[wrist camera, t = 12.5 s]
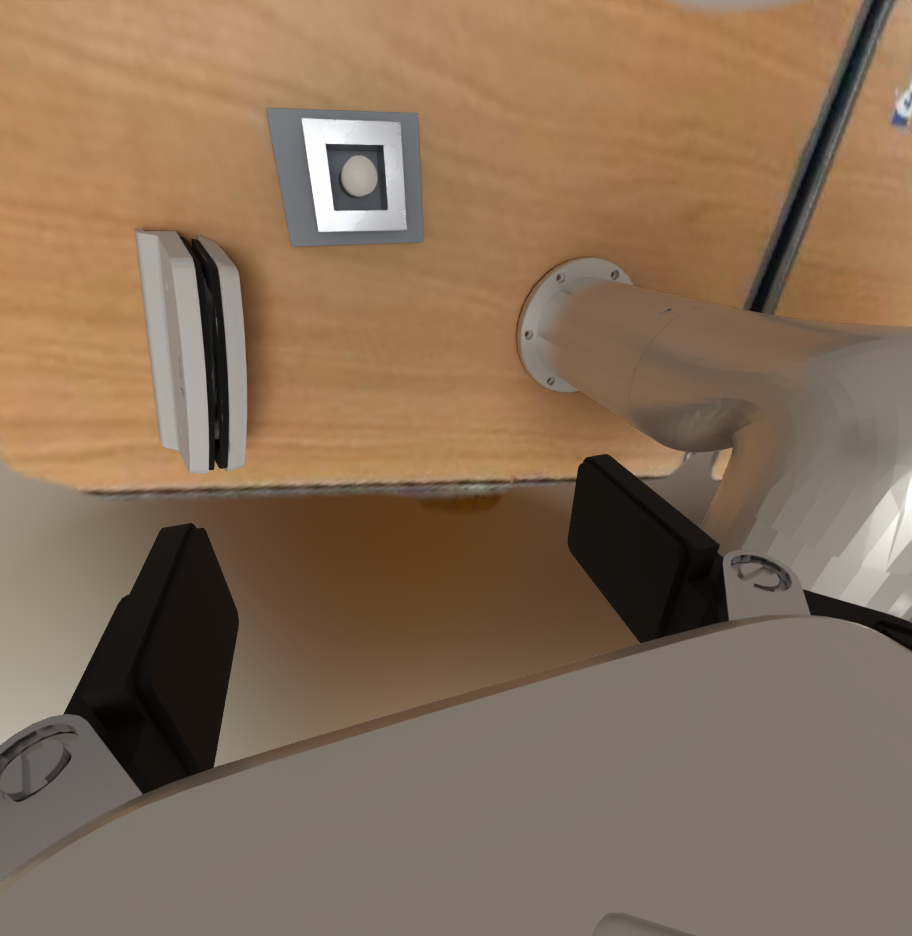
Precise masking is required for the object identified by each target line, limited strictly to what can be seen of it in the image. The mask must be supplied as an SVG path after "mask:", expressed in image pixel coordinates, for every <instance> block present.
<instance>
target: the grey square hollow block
mask: <svg viewBox="0 0 912 936" xmlns="http://www.w3.org/2000/svg"><path fill="white" fill-rule="evenodd" d="M302 127H303V134H304V141H305V147H306V154H307V161H308V167H309V174H310V181H311V188H312V194H313V201H314V208H315V214H316V221H317V228H318V232H331V231H383V230H407V225H406V208H405V191H404V173H403V156H402V139H401V122H384V121H359V120H333V119H308V118H302ZM326 150H328V151H372V152H377V163H378V175H379V188H380V200H381V210H371V211H334V206H333V198H332V190H331V183H330V175H329V167H328V159H327V152H326Z"/></svg>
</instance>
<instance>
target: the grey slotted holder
mask: <svg viewBox="0 0 912 936" xmlns="http://www.w3.org/2000/svg"><path fill="white" fill-rule="evenodd" d="M134 230H135V238H136V247H137V255H138V263H139V272H140V280H141V288H142V297H143V305H144V313H145V322H146V330H147V339H148V347H149V355H150V364H151V372H152V380H153V389H154V397H155V406H156V414H157V422H158V431H159V438H160V442H161V445H162V447H165V448H169V449H173V450H177V451H179V452H180V454H181V456H182V458H183V461H184V463H185V465H186V467H187V470H188V472H189V473H200V474H208V472H209V470H213V469H214V464H215V462H216V463H217V465H218V467H219V468H220V469H223V468H224V469H225V470H226V471H230V470H234V469H237V468H240V467H243V466H244V460H245V450H246V433H247V368H246V349H245V333H244V319H243V308H242V298H241V288H240V278H239V273H238V270H237V267H236V266H235V265H234V264H233V262H232V261H231V260H230V259H229V257H228V256H227V255H226V254H225V252H224V251H223V250H222V249H221V247H220V246H219V245H218V244H217V242H215V241H212V240H210V239H207V238H205V237H202V236H199V235H197V240H195V239H191V240H192V249H191V248H190V246H189V245H188V243H187V242H186V240H185V239H184V238H183V237H179V236H178V234H177V233H176V231H144V230H143V229H134Z"/></svg>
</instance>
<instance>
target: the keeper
mask: <svg viewBox="0 0 912 936" xmlns="http://www.w3.org/2000/svg"><path fill="white" fill-rule="evenodd" d="M266 112H267V117H268V123H269V128H270V133H271V139H272V144H273V150H274V155H275V160H276V166H277V171H278V176H279V182H280V187H281V193H282V198H283V203H284V209H285V214H286V219H287V225H288V230H289V236H290V241H291V246H292V247H297V246H325V245H354V244H382V243H411V242H424V234H423V213H422V192H421V171H420V150H419V129H418V113H398V112H369V111H340V110H311V109H282V108H266ZM302 118H308V119H333V120H359V121H384V122H401V139H402V156H403V173H404V191H405V208H406V225H407V230H383V231H331V232H318V228H317V221H316V214H315V208H314V201H313V194H312V188H311V181H310V174H309V167H308V161H307V154H306V147H305V141H304V134H303V127H302ZM326 152H327V159H328V167H329V175H330V183H331V190H332V198H333V206H334V211H371V210H381V200H380V188H379V175H378V163H377V152H372V151H328V150H326Z"/></svg>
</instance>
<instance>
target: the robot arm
mask: <svg viewBox="0 0 912 936" xmlns="http://www.w3.org/2000/svg"><path fill="white" fill-rule="evenodd" d="M557 275H558V279H557V280H556V278H557ZM526 331H527V334H526V335H525V333H526ZM524 335H525V336H524ZM517 345H518V352H519V355H520V359H521V362H522V364H523V366H524V368H525V370H526V371H527V372H528V373H529V375H530V376H531V377H532V378H533V379H534V380H535V381H537V382H538V383H539V384H541V385H542V386H544V387H545V388H547V389H550V390H553V391H556V392H564V393H570V392H578V391H580V392H582V393H583V394H585V395H586V396H588V397H589V398H591V399H593V400H594V401H596V402H597V403H599V404H600V405H602V406H603V407H605V408H606V409H608V410H609V411H611V412H612V413H614V414H615V415H617V416H618V417H620V418H621V419H623V420H624V421H626V422H627V423H629V424H630V425H632V426H633V427H635V428H636V429H638V430H640V431H641V432H643V433H645V434H646V435H648V436H649V437H651V438H652V439H654V440H655V441H657V442H659V443H660V444H662V445H664V446H667V447H669V448H672V449H675V450H679V451H685V452H710V451H717V450H723V449H728V448H733V450H732V455H731V458H730V460H729V463H728V465H727V467H726V470H725V472H724V474H723V477H722V482H721V484H720V486H719V489H718V491H717V493H716V495H715V497H714V499H713V501H712V504H711V506H710V508H709V510H708V512H707V514H706V516H705V519H704V521H703V523H702V525H701V527H700V528H699V527H697V526H696V525H695V524H694V523H693V522H691V521H690V520H689V519H688V518H686V517H685V516H684V515H683V514H681V513H680V512H679V511H677V510H676V509H675V508H674V507H673V506H671V505H670V504H669V503H668V502H666V501H665V500H664V499H663V498H662V497H660V496H659V495H658V494H657V493H655V492H654V491H653V490H652V489H650V488H649V487H648V486H647V485H646V484H644V483H643V482H642V481H641V480H639V479H638V478H637V477H636V476H634V475H633V474H632V473H631V472H629V471H628V470H627V469H626V468H625V467H623V466H622V465H621V464H620V463H618V462H617V461H616V460H615V459H613V458H612V457H611V456H609V455H608V454H604V455H598V456H592V457H587V458H585V460H584V461H583V463H582V464H580V465H579V467H578V473H577V480H576V487H575V494H574V500H573V507H572V514H571V521H570V527H569V535H568V547H569V550H570V552H571V553H572V555H573V556H574V557H575V559H576V560H577V561H578V563H579V564H580V565H581V566H582V568H583V569H584V570H585V572H586V573H587V574H588V576H589V577H590V578H591V579H592V581H593V582H594V583H595V585H596V586H597V587H598V588H599V590H600V591H601V592H602V594H603V595H604V596H605V598H606V599H607V600H608V602H609V603H610V604H611V606H612V607H613V608H614V609H615V611H616V612H617V613H618V615H619V616H620V617H621V619H622V620H623V621H624V622H625V624H626V625H627V626H628V628H629V629H630V630H631V632H632V633H633V634H634V636H635V637H636V638H637V639H638V641H639V642H640V644H637V645H633V646H630V647H626V648H622V649H619V650H615V651H612V652H608V653H604V654H601V655H598V656H594V657H590V658H587V659H583V660H579V661H576V662H572V663H569V664H565V665H561V666H558V667H554V668H551V669H548V670H544V671H540V672H537V673H533V674H530V675H526V676H523V677H519V678H516V679H513V680H509V681H505V682H502V683H498V684H495V685H492V686H488V687H484V688H481V689H477V690H474V691H470V692H467V693H463V694H460V695H456V696H453V697H450V698H446V699H442V700H439V701H435V702H432V703H429V704H425V705H422V706H418V707H415V708H411V709H408V710H404V711H401V712H398V713H394V714H391V715H387V716H384V717H380V718H377V719H374V720H370V721H367V722H363V723H360V724H356V725H353V726H349V727H346V728H343V729H339V730H336V731H332V732H329V733H325V734H322V735H319V736H315V737H312V738H308V739H305V740H302V741H298V742H295V743H292V744H289V745H286V746H282V747H279V748H276V749H272V750H269V751H266V752H263V753H260V754H256V755H253V756H250V757H246V758H243V759H240V760H237V761H234V762H230V763H227V764H224V765H221V766H217V767H215V768H214V762H215V757H216V751H217V746H218V740H219V734H220V728H221V723H222V717H223V712H224V706H225V700H226V694H227V689H228V683H229V678H230V672H231V666H232V660H233V654H234V649H235V644H236V638H237V632H238V626H239V619H238V612H237V609H236V606H235V604H234V601H233V599H232V596H231V594H230V591H229V588H228V586H227V583H226V581H225V578H224V576H223V573H222V571H221V568H220V565H219V563H218V560H217V558H216V555H215V553H214V550H213V548H212V545H211V542H210V540H209V537H208V535H207V532H206V530H205V529H204V528H198V529H197V528H196V527H195V525H194V524H192V523H189V524H183V525H177V526H171V527H165V528H162V529H161V530H160V532H159V534H158V536H157V538H156V540H155V542H154V544H153V547H152V549H151V551H150V553H149V555H148V557H147V559H146V561H145V563H144V565H143V567H142V570H141V572H140V574H139V576H138V578H137V580H136V582H135V584H134V586H133V589H132V591H131V592H130V595H126V596H125V597H123V598H122V599H121V601H120V602H119V604H118V605H117V607H116V609H115V611H114V613H113V615H112V617H111V620H110V621H109V623H108V626H107V627H106V629H105V631H104V634H103V636H102V638H101V640H100V642H99V644H98V646H97V648H96V650H95V652H94V654H93V656H92V658H91V660H90V662H89V664H88V666H87V668H86V670H85V672H84V674H83V676H82V678H81V680H80V682H79V684H78V686H77V688H76V690H75V692H74V694H73V696H72V698H71V700H70V702H69V704H68V706H67V708H66V710H65V712H64V714H63V715H58V716H53V717H49V718H47V719H44V720H42V721H39V722H36V723H34V724H32V725H30V726H28V727H27V728H25V729H23V730H22V731H20V732H18V733H17V734H15V735H13V736H12V737H11V738H9V739H8V740H7V741H5V742H4V743H3V744H2V745H0V936H912V327H904V326H885V325H866V324H847V323H832V322H823V321H813V320H803V319H794V318H788V317H782V316H775V315H770V314H764V313H759V312H753V311H748V310H743V309H739V308H734V307H730V306H725V305H720V304H716V303H711V302H707V301H702V300H698V299H693V298H688V297H684V296H679V295H675V294H670V293H666V292H661V291H657V290H652V289H648V288H643V287H639V286H634V285H633V283H632V281H631V279H630V277H629V276H628V275H627V274H626V273H625V271H624V270H623V269H622V268H620V267H619V266H617V265H616V264H614V263H613V262H610V261H607V260H604V259H601V258H594V257H584V258H577V259H573V260H569V261H567V262H565V263H563V264H561V265H559V266H557V267H555V268H554V269H553V270H551V271H550V272H549V273H547V274H546V275H545V276H544V277H543V278H542V279H541V280H540V281H539V282H538V283H537V285H536V286H535V287H534V289H533V290H532V292H531V293H530V295H529V296H528V298H527V300H526V302H525V304H524V307H523V309H522V311H521V315H520V319H519V322H518V330H517ZM548 378H549V379H548ZM547 379H548V380H547Z"/></svg>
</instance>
